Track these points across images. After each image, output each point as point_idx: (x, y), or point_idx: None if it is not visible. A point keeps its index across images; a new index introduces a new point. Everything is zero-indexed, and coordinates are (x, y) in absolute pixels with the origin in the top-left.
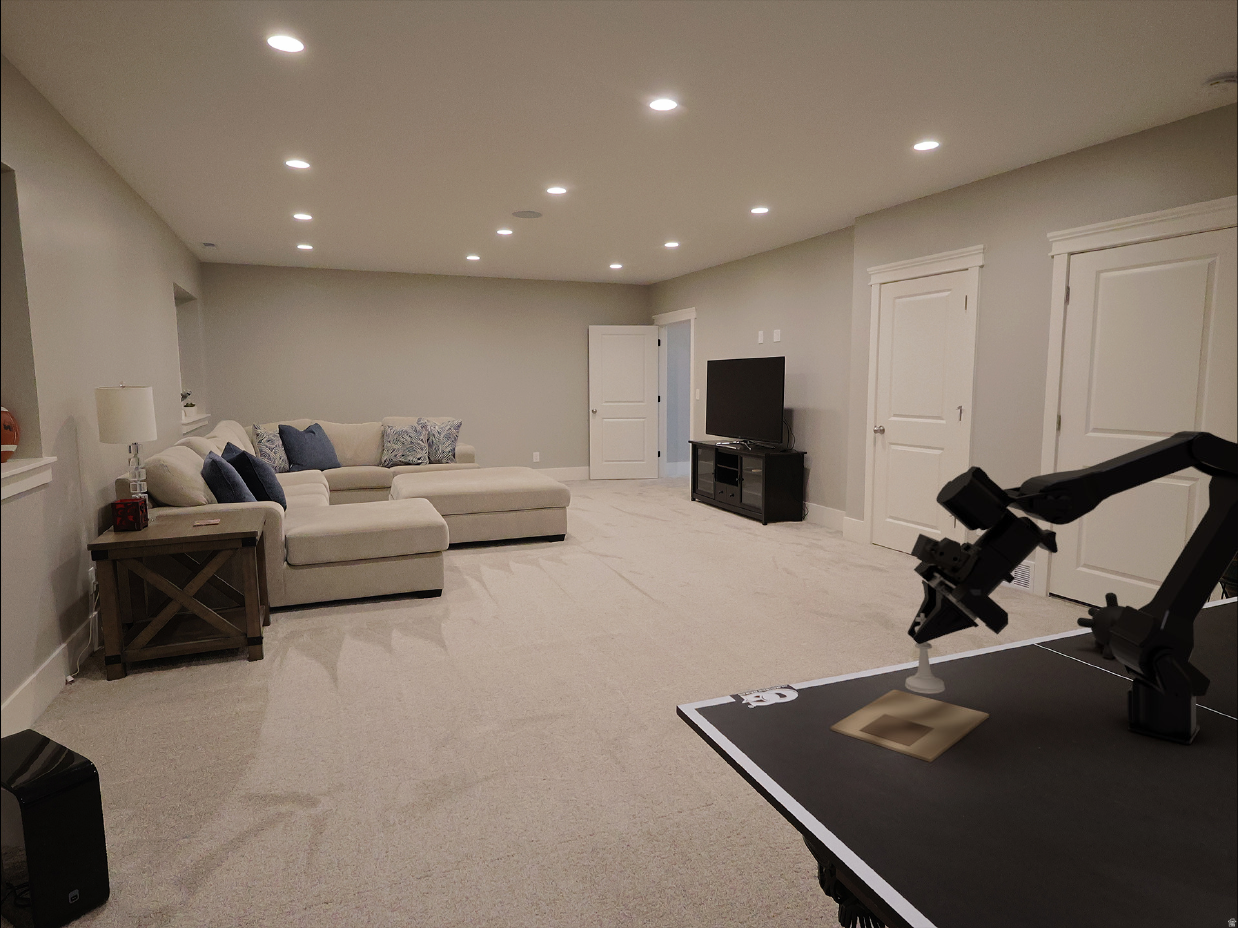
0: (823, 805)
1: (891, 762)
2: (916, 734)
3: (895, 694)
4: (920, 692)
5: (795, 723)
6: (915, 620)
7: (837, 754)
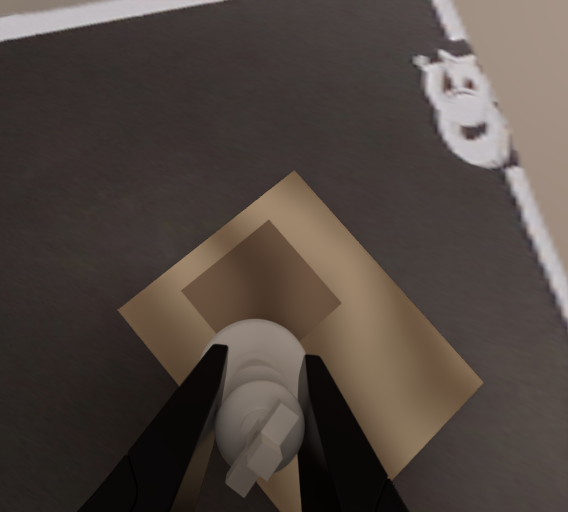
0: (12, 68)
1: (136, 235)
2: None
3: (452, 373)
4: (209, 342)
5: (331, 118)
6: (323, 414)
7: (187, 150)
